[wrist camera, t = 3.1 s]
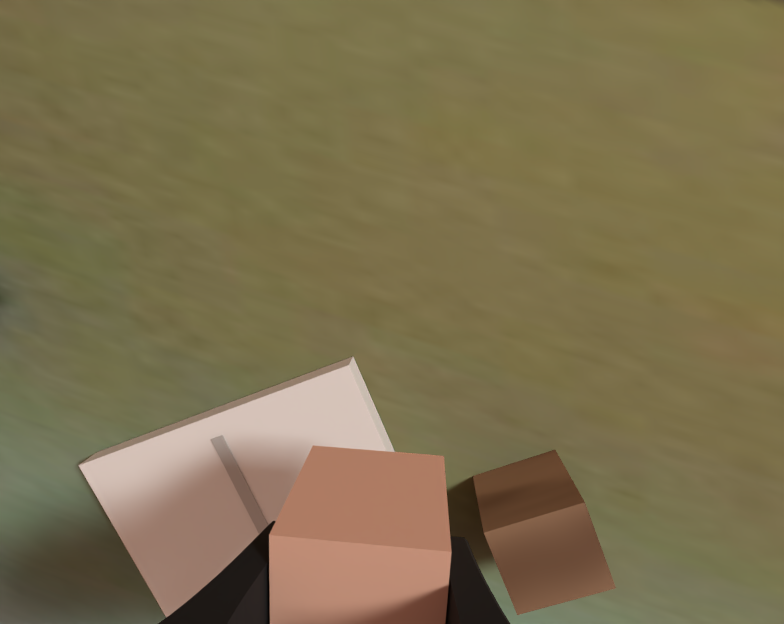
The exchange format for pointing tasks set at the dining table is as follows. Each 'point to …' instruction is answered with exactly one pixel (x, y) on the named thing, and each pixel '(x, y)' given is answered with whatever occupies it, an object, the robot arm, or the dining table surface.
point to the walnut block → (540, 533)
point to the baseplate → (225, 474)
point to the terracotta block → (362, 540)
